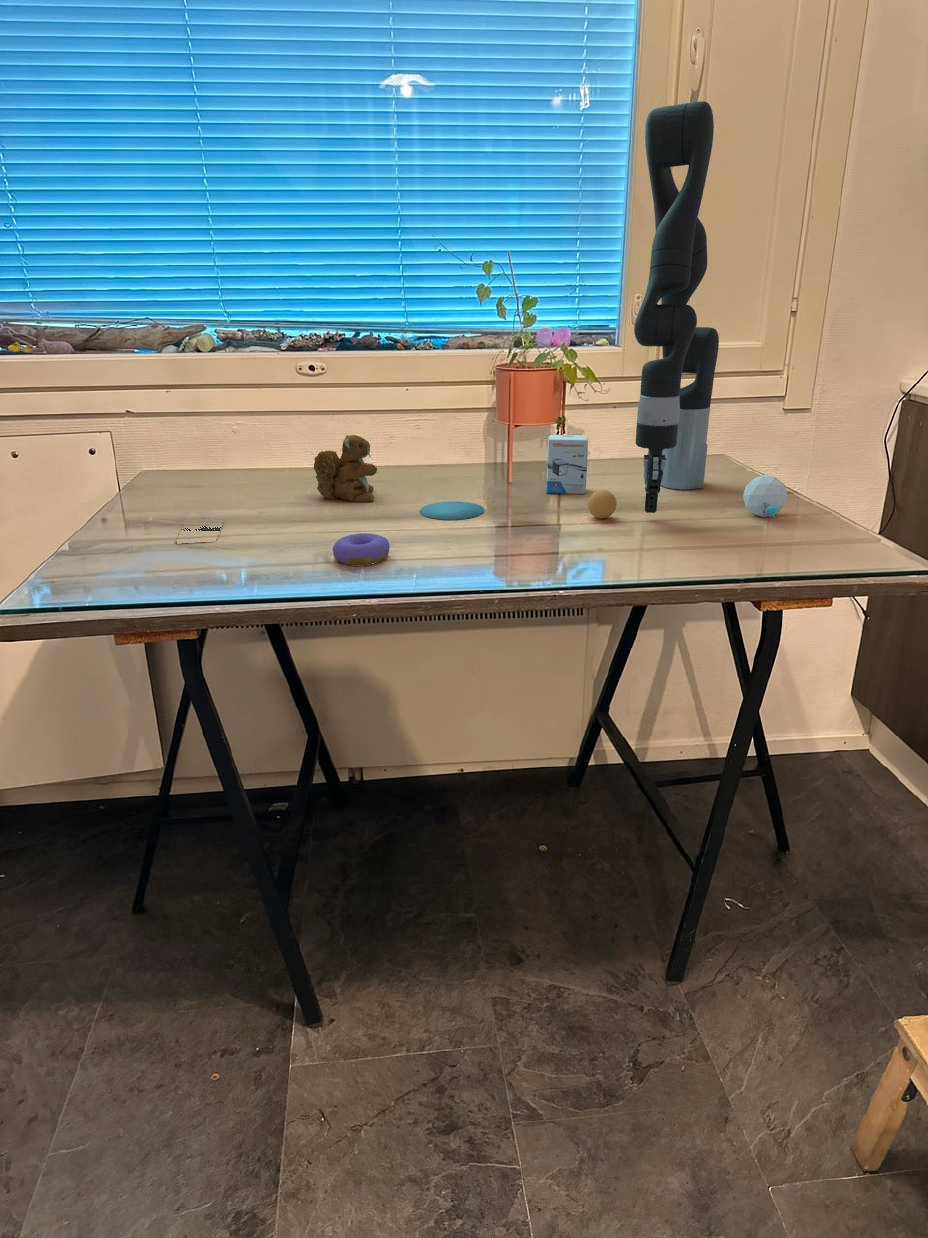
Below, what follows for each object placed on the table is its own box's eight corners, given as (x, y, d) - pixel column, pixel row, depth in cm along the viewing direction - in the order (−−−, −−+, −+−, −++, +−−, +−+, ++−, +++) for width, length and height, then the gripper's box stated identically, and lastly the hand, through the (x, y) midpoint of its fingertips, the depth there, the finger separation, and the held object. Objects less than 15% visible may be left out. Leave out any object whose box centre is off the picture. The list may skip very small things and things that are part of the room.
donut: (362, 544, 145) (364, 519, 143) (399, 564, 141) (402, 539, 138) (319, 558, 138) (321, 533, 136) (357, 581, 134) (360, 554, 131)
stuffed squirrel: (376, 502, 172) (372, 440, 166) (309, 503, 172) (304, 440, 167) (381, 490, 181) (378, 430, 176) (318, 491, 181) (313, 431, 176)
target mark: (488, 503, 170) (488, 502, 170) (478, 521, 158) (478, 520, 158) (427, 501, 172) (427, 500, 172) (413, 518, 160) (413, 517, 160)
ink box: (546, 493, 176) (547, 439, 171) (546, 488, 181) (547, 434, 176) (586, 494, 175) (588, 439, 171) (585, 488, 180) (587, 434, 175)
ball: (615, 514, 161) (617, 487, 158) (615, 522, 156) (617, 494, 154) (587, 513, 162) (588, 486, 159) (586, 521, 157) (588, 493, 154)
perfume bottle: (789, 492, 161) (804, 516, 150) (751, 514, 164) (763, 539, 154) (770, 461, 158) (784, 483, 148) (732, 484, 161) (743, 507, 151)
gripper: (681, 426, 143) (672, 522, 150) (676, 414, 155) (668, 503, 162) (637, 426, 144) (631, 520, 151) (636, 414, 156) (629, 502, 163)
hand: (650, 511), depth 156 cm, fingers closed
